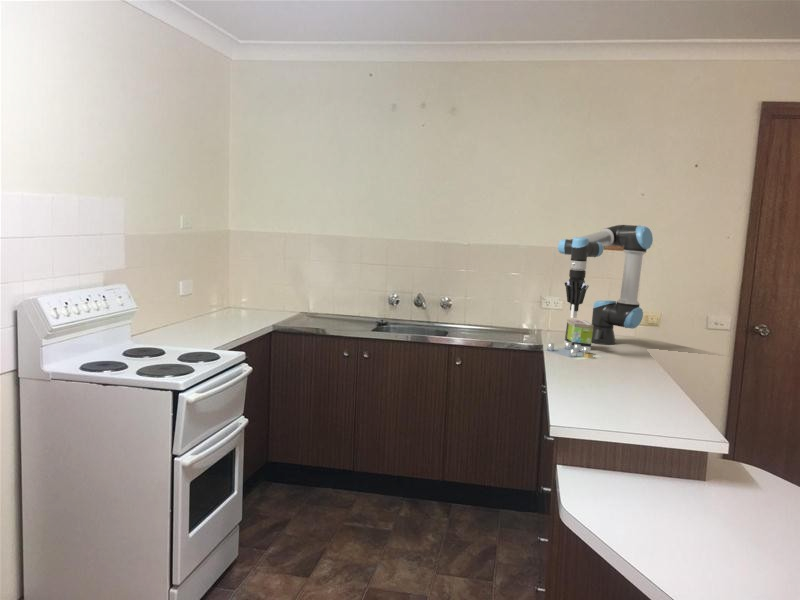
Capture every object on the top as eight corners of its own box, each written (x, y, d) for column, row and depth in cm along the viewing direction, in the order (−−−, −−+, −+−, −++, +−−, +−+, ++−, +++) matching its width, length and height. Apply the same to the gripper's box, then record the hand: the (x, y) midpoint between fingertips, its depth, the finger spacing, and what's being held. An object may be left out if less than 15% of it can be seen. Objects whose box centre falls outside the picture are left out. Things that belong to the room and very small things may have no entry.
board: (567, 350, 337) (567, 347, 337) (603, 359, 320) (603, 356, 320) (542, 352, 327) (543, 350, 327) (578, 362, 309) (579, 359, 309)
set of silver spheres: (566, 348, 336) (566, 341, 336) (593, 355, 322) (594, 348, 322) (545, 350, 327) (546, 343, 327) (573, 357, 313) (574, 350, 313)
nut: (585, 355, 320) (585, 351, 319) (594, 357, 316) (595, 353, 316) (580, 356, 317) (580, 352, 316) (590, 358, 313) (590, 354, 313)
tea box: (590, 353, 334) (594, 324, 332) (570, 352, 334) (574, 323, 332) (582, 347, 349) (585, 319, 347) (563, 346, 349) (566, 318, 347)
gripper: (562, 268, 325) (557, 315, 328) (583, 271, 314) (579, 320, 318) (572, 267, 329) (567, 315, 332) (593, 270, 319) (589, 319, 322)
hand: (573, 317), depth 325 cm, fingers closed
